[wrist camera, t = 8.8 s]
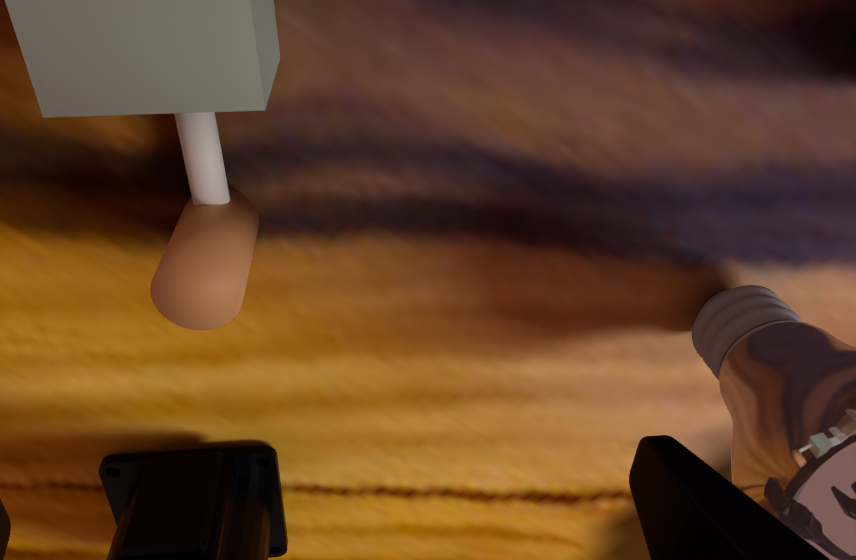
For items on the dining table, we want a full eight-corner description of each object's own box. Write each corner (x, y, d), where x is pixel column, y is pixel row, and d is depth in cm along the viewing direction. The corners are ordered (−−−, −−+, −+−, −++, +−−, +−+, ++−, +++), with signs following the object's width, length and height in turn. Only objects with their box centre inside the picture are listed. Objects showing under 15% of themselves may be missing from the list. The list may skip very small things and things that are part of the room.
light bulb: (801, 349, 26) (1095, 653, 16) (633, 393, 26) (819, 721, 16) (819, 198, 22) (1221, 476, 12) (622, 252, 22) (857, 567, 12)
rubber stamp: (301, 240, 21) (293, 324, 17) (156, 248, 20) (114, 336, 16) (260, -115, 15) (235, -108, 12) (61, -116, 15) (-32, -109, 11)
